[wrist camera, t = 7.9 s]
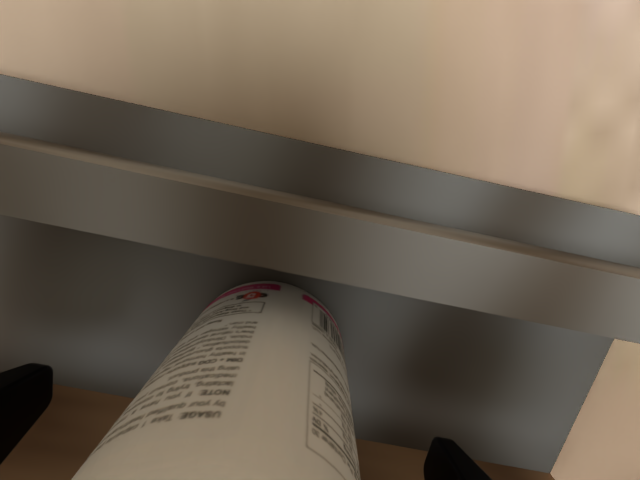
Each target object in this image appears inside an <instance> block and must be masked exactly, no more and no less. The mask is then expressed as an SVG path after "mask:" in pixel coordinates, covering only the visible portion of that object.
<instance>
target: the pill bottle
mask: <svg viewBox="0 0 640 480" xmlns="http://www.w3.org/2000/svg"><path fill="white" fill-rule="evenodd" d="M71 480H361V478H360V470H359V461H358V454H357V446H356V438H355V432H354V423H353V416H352V408H351V400H350V392H349V385H348V378H347V368H346V363H345V355H344V348H343V343H342V338H341V335H340V331H339V329H338V326H337V324H336V321H335V320H334V318H333V316H332V315H331V313H330V312H329V310H328V309H327V308H326V307H325V306H324V305H323V304H322V303H321V302H320V301H319V300H318V299H317V298H315V297H314V296H312V295H311V294H309V293H308V292H306V291H304V290H302V289H300V288H298V287H296V286H293V285H290V284H286V283H282V282H276V281H257V282H250V283H246V284H242V285H239V286H236V287H234V288H232V289H230V290H228V291H226V292H224V293H223V294H221V295H220V296H219V297H217V298H216V299H215V300H214V301H212V302H211V303H210V304H209V305H208V306H207V307H206V308H205V309H204V311H203V312H202V313H201V314H200V316H199V317H198V318H197V319H196V320H195V322H194V323H193V324H192V326H191V327H190V328H189V329H188V331H187V332H186V333H185V335H184V336H183V337H182V338H181V339H180V341H179V342H178V343H177V344H176V346H175V347H174V348H173V349H172V351H171V352H170V353H169V355H168V356H167V357H166V358H165V360H164V361H163V362H162V364H161V365H160V366H159V367H158V369H157V370H156V371H155V372H154V374H153V375H152V376H151V378H150V379H149V380H148V381H147V383H146V384H145V385H144V387H143V388H142V389H141V390H140V392H139V393H138V394H137V396H136V397H135V398H134V400H133V401H132V402H131V403H130V404H129V406H128V407H127V408H126V410H125V411H124V412H123V413H122V415H121V416H120V417H119V418H118V420H117V421H116V422H115V423H114V425H113V426H112V427H111V429H110V430H109V431H108V433H107V434H106V435H105V437H104V438H103V439H102V441H101V442H100V443H99V444H98V446H97V447H96V448H95V449H94V451H93V452H92V453H91V454H90V456H89V457H88V458H87V460H86V461H85V462H84V463H83V465H82V466H81V467H80V469H79V470H78V471H77V473H76V474H75V475H74V476H73V478H72V479H71Z"/></svg>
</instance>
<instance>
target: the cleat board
mask: <svg viewBox="0 0 640 480" xmlns="http://www.w3.org/2000/svg"><path fill="white" fill-rule="evenodd" d="M257 281H276V282H282V283H286V284H290V285H293V286H296V287H298V288H300V289H302V290H304V291H306V292H308V293H309V294H311V295H312V296H314V297H315V298H317V299H318V300H319V301H320V302H321V303H322V304H323V305H324V306H325V307H326V308H327V309H328V310H329V312H330V313H331V315H332V316H333V318H334V320H335V321H336V324H337V326H338V329H339V331H340V335H341V338H342V343H343V348H344V355H345V363H346V368H347V378H348V385H349V392H350V400H351V408H352V416H353V423H354V432H355V438H356V446H357V454H358V461H359V470H360V478H361V480H425V479H424V471H423V468H424V462H425V459H426V456H427V453H428V450H429V447H430V445H431V442H432V440H433V438H434V437H437V436H438V437H444V438H449V439H452V440H453V441H454V442H456V443H457V445H458V446H459V447H460V448H461V449H462V450H463V451H464V452H465V453H466V454H467V455H468V456H469V457H470V458H471V459H472V460H473V461H474V462H475V463H476V464H477V465H478V466H479V467H480V468H481V469H482V470H483V471H484V472H485V473H486V474H487V475H488V476H489V477H490V478H491V479H492V480H554V478H553V477H552V476H551V474H550V472H551V470H552V468H553V466H554V464H555V462H556V459H557V457H558V455H559V453H560V451H561V449H562V447H563V445H564V443H565V441H566V438H567V436H568V434H569V432H570V430H571V428H572V426H573V424H574V422H575V420H576V418H577V415H578V413H579V411H580V409H581V407H582V405H583V403H584V401H585V399H586V397H587V394H588V392H589V390H590V388H591V386H592V384H593V382H594V380H595V378H596V376H597V374H598V371H599V369H600V367H601V365H602V363H603V361H604V359H605V357H606V355H607V353H608V350H609V348H610V346H611V344H612V342H613V340H614V339H619V340H624V341H629V342H634V343H639V344H640V216H639V215H635V214H630V213H626V212H621V211H617V210H612V209H608V208H603V207H599V206H594V205H590V204H585V203H581V202H576V201H571V200H567V199H562V198H558V197H553V196H549V195H544V194H540V193H535V192H531V191H526V190H522V189H517V188H513V187H508V186H504V185H499V184H495V183H490V182H485V181H481V180H476V179H472V178H467V177H463V176H458V175H454V174H449V173H445V172H440V171H436V170H431V169H427V168H422V167H418V166H413V165H409V164H404V163H400V162H395V161H390V160H386V159H381V158H377V157H372V156H368V155H363V154H359V153H354V152H350V151H345V150H341V149H336V148H332V147H327V146H323V145H318V144H314V143H309V142H305V141H300V140H295V139H291V138H286V137H282V136H277V135H273V134H268V133H264V132H259V131H255V130H250V129H246V128H241V127H237V126H232V125H228V124H223V123H219V122H214V121H210V120H205V119H200V118H196V117H191V116H187V115H182V114H178V113H173V112H169V111H164V110H160V109H155V108H151V107H146V106H142V105H137V104H133V103H128V102H124V101H119V100H114V99H110V98H105V97H101V96H96V95H92V94H87V93H83V92H78V91H74V90H69V89H65V88H60V87H56V86H51V85H47V84H42V83H38V82H33V81H29V80H24V79H19V78H15V77H10V76H6V75H1V74H0V372H3V371H7V370H10V369H13V368H16V367H19V366H22V365H25V364H28V363H39V364H45V365H49V366H51V367H52V369H53V397H52V400H51V403H50V404H49V406H48V408H47V409H46V410H45V411H44V413H43V414H42V415H41V416H40V417H39V419H38V420H37V421H36V422H35V424H34V425H33V426H32V427H31V428H30V430H29V431H28V432H27V433H26V435H25V436H24V437H23V438H22V439H21V441H20V442H19V443H18V444H17V445H16V447H15V448H14V449H13V450H12V452H11V453H10V454H9V455H8V456H7V458H6V459H5V460H4V461H3V463H2V464H1V465H0V480H71V479H72V478H73V476H74V475H75V474H76V473H77V471H78V470H79V469H80V467H81V466H82V465H83V463H84V462H85V461H86V460H87V458H88V457H89V456H90V454H91V453H92V452H93V451H94V449H95V448H96V447H97V446H98V444H99V443H100V442H101V441H102V439H103V438H104V437H105V435H106V434H107V433H108V431H109V430H110V429H111V427H112V426H113V425H114V423H115V422H116V421H117V420H118V418H119V417H120V416H121V415H122V413H123V412H124V411H125V410H126V408H127V407H128V406H129V404H130V403H131V402H132V401H133V400H134V398H135V397H136V396H137V394H138V393H139V392H140V390H141V389H142V388H143V387H144V385H145V384H146V383H147V381H148V380H149V379H150V378H151V376H152V375H153V374H154V372H155V371H156V370H157V369H158V367H159V366H160V365H161V364H162V362H163V361H164V360H165V358H166V357H167V356H168V355H169V353H170V352H171V351H172V349H173V348H174V347H175V346H176V344H177V343H178V342H179V341H180V339H181V338H182V337H183V336H184V335H185V333H186V332H187V331H188V329H189V328H190V327H191V326H192V324H193V323H194V322H195V320H196V319H197V318H198V317H199V316H200V314H201V313H202V312H203V311H204V309H205V308H206V307H207V306H208V305H209V304H210V303H211V302H212V301H214V300H215V299H216V298H217V297H219V296H220V295H221V294H223V293H224V292H226V291H228V290H230V289H232V288H234V287H236V286H239V285H242V284H246V283H250V282H257Z"/></svg>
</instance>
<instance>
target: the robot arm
mask: <svg viewBox="0 0 640 480" xmlns="http://www.w3.org/2000/svg"><path fill="white" fill-rule="evenodd" d="M52 397H53V369H52V367H51V366H49V365H45V364H39V363H28V364H25V365H22V366H19V367H16V368H13V369H10V370H7V371H3V372H0V465H1V464H2V463H3V461H4V460H5V459H6V458H7V456H8V455H9V454H10V453H11V452H12V450H13V449H14V448H15V447H16V445H17V444H18V443H19V442H20V441H21V439H22V438H23V437H24V436H25V435H26V433H27V432H28V431H29V430H30V428H31V427H32V426H33V425H34V424H35V422H36V421H37V420H38V419H39V417H40V416H41V415H42V414H43V413H44V411H45V410H46V409H47V408H48V406H49V404H50V403H51V400H52ZM423 471H424V479H425V480H492V479H491V478H490V477H489V476H488V475H487V474H486V473H485V472H484V471H483V470H482V469H481V468H480V467H479V466H478V465H477V464H476V463H475V462H474V461H473V460H472V459H471V458H470V457H469V456H468V455H467V454H466V453H465V452H464V451H463V450H462V449H461V448H460V447H459V446H458V445H457V443H456V442H454V441H453V440H452V439H449V438H444V437H438V436H437V437H434V438H433V440H432V442H431V445H430V447H429V450H428V453H427V456H426V459H425V462H424V468H423Z"/></svg>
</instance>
